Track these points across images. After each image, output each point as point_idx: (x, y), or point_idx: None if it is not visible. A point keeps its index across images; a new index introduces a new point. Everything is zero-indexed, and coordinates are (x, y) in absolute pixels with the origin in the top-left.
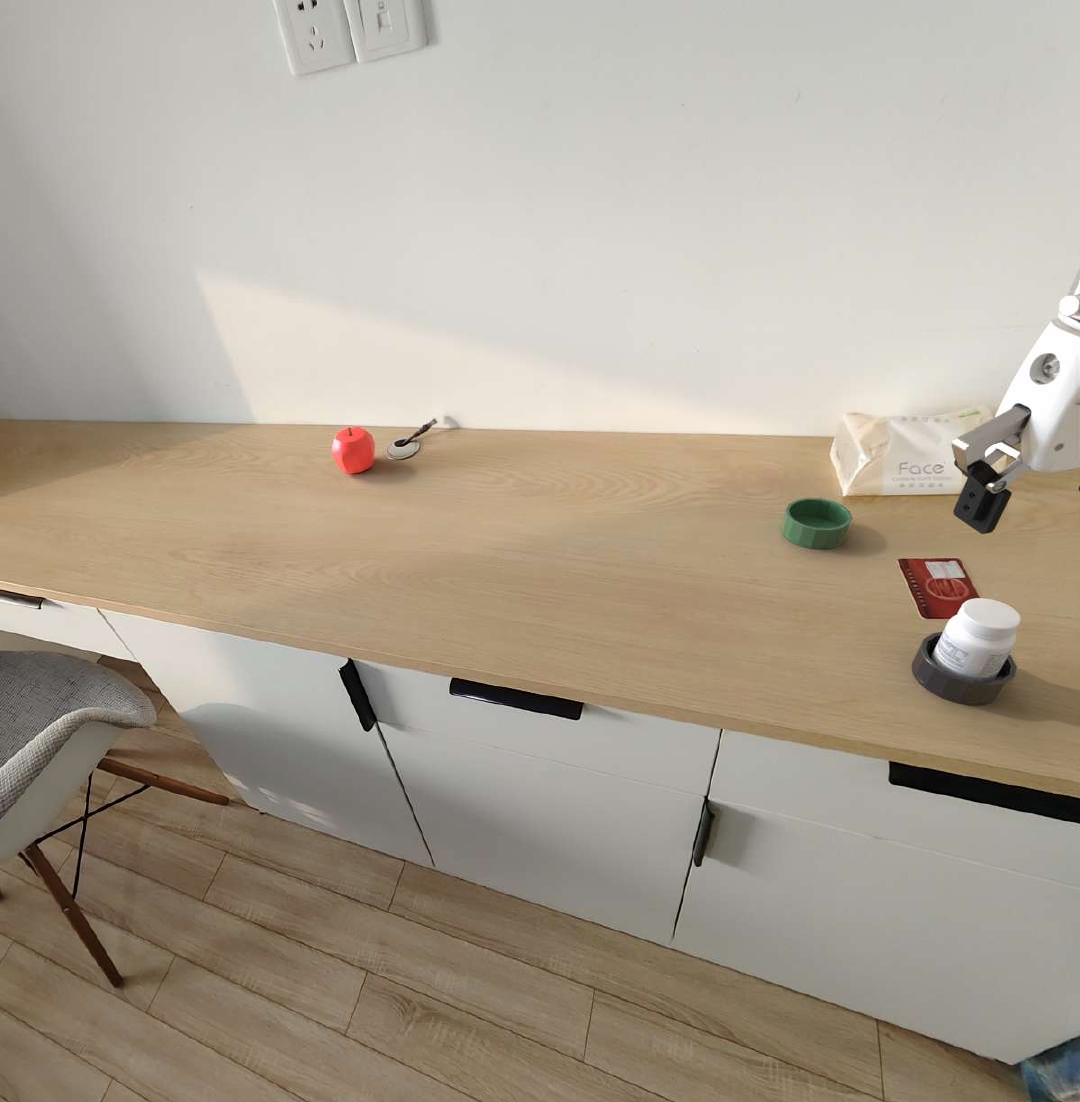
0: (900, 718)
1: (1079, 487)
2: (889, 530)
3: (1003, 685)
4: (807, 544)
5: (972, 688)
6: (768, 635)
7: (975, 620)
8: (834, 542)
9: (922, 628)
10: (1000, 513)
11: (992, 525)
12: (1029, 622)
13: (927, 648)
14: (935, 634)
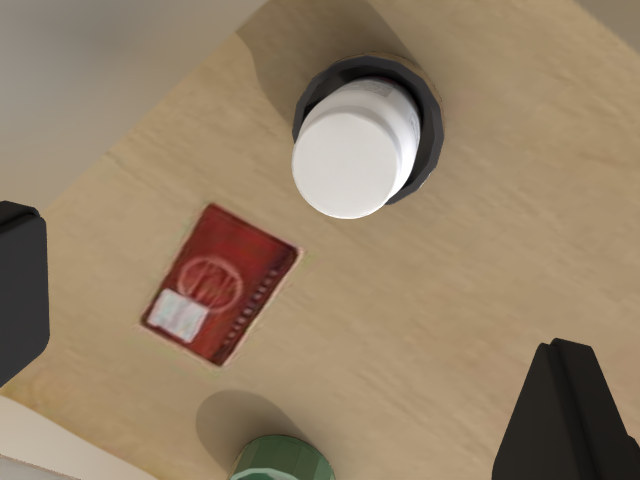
0: (549, 86)
1: (41, 351)
2: (177, 418)
3: (368, 54)
4: (323, 463)
5: (417, 73)
6: (573, 341)
7: (395, 164)
8: (284, 445)
9: (321, 234)
10: (588, 412)
11: (581, 367)
12: (163, 170)
13: None
14: None
